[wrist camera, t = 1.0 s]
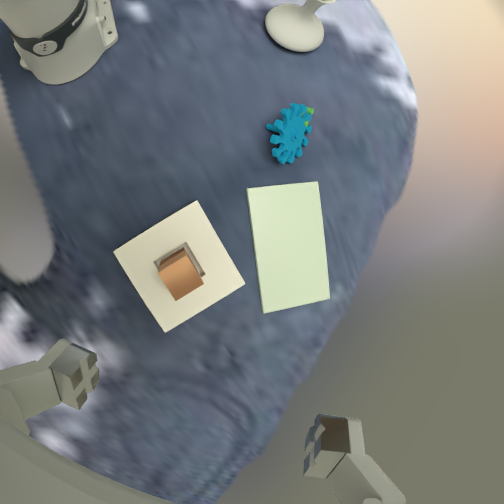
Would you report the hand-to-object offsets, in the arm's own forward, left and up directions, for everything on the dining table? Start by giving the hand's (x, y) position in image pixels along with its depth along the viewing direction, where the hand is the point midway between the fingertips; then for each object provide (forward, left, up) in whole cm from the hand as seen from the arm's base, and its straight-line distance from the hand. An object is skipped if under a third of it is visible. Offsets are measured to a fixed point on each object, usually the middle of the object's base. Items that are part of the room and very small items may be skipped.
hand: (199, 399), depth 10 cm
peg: (+1, 0, -39) cm, 39 cm away
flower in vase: (-39, +24, -40) cm, 61 cm away
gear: (-17, +20, -40) cm, 48 cm away
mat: (+1, +18, -40) cm, 44 cm away
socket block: (+1, 0, -40) cm, 40 cm away
